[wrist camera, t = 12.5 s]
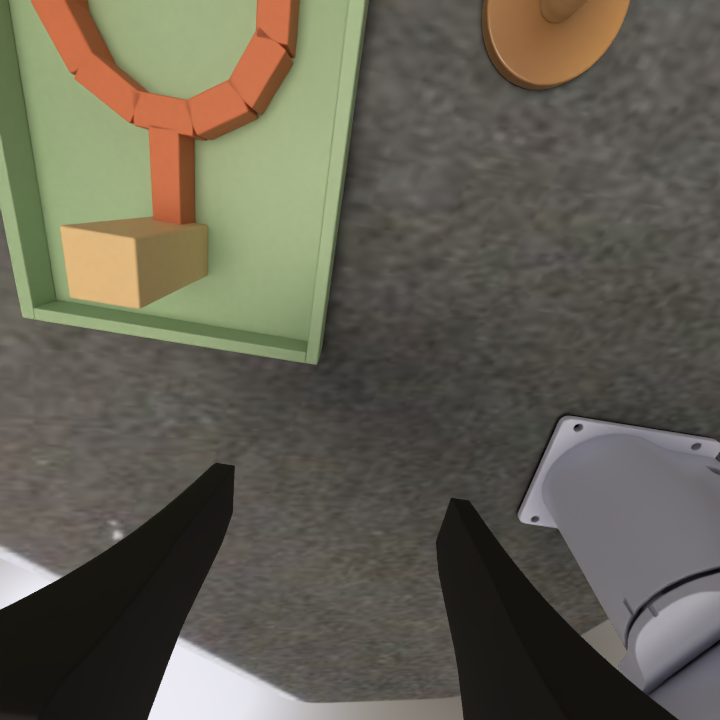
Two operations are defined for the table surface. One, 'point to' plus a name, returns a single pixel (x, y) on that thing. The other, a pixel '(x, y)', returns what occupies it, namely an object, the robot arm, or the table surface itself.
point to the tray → (212, 169)
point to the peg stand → (548, 37)
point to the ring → (161, 153)
